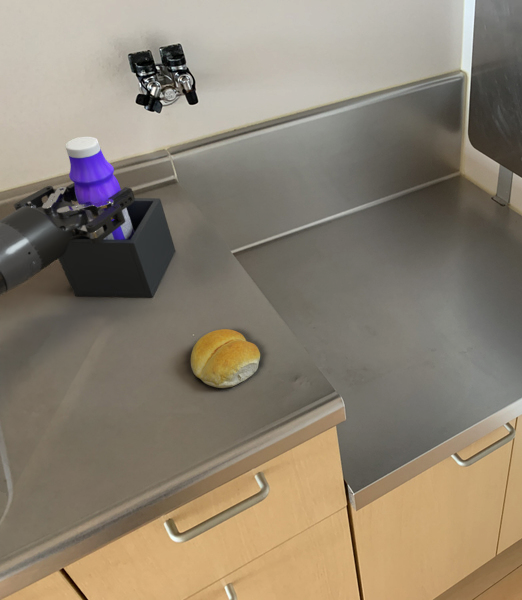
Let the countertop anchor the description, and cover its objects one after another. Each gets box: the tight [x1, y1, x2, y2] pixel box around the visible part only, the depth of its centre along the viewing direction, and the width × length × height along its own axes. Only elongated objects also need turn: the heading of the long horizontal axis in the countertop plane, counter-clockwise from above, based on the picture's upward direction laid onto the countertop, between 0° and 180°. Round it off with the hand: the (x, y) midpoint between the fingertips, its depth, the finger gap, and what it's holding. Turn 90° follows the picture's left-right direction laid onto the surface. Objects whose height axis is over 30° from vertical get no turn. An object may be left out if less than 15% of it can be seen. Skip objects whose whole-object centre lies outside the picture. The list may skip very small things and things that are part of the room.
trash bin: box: [57, 197, 176, 298], centre depth 92 cm, size 12×12×10 cm
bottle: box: [64, 136, 135, 240], centre depth 86 cm, size 7×6×17 cm
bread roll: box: [190, 328, 261, 389], centre depth 79 cm, size 8×9×4 cm
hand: (110, 187), depth 87 cm, fingers closed on bottle, 7 cm apart
